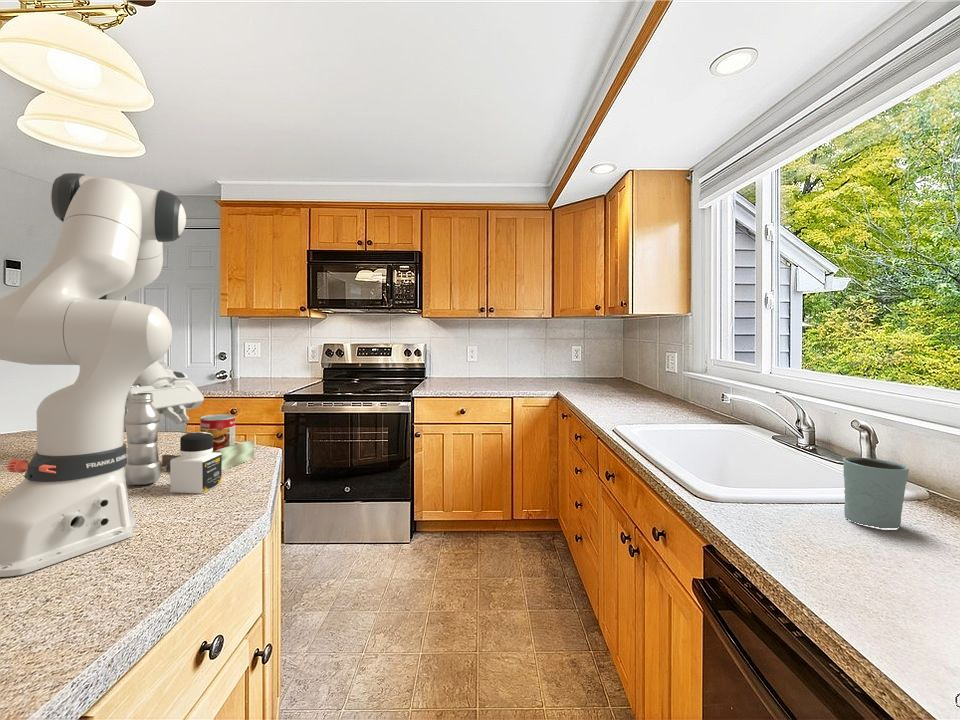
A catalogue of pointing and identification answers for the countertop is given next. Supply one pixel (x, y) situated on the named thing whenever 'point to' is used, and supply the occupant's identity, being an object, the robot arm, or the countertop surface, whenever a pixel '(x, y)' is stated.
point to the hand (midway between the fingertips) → (183, 422)
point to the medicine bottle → (196, 465)
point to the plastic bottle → (142, 441)
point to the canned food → (219, 429)
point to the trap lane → (226, 455)
